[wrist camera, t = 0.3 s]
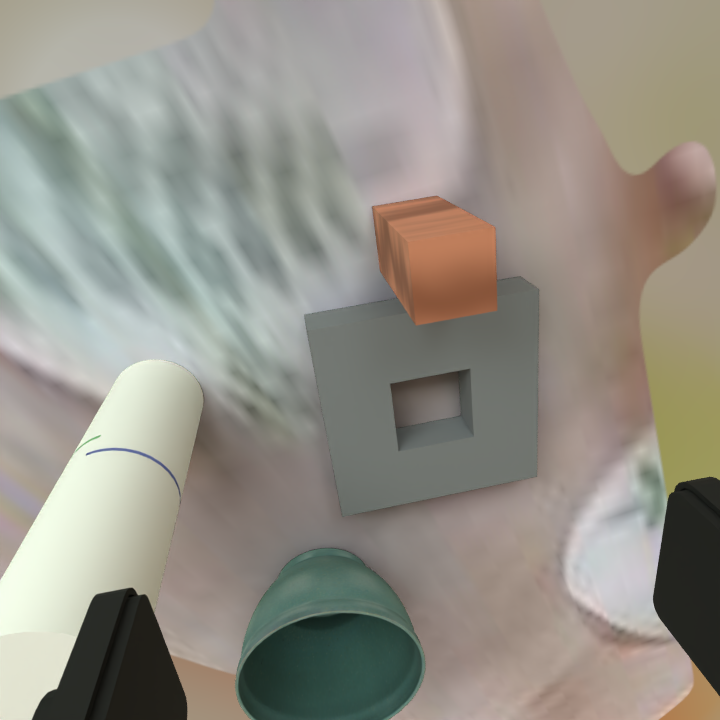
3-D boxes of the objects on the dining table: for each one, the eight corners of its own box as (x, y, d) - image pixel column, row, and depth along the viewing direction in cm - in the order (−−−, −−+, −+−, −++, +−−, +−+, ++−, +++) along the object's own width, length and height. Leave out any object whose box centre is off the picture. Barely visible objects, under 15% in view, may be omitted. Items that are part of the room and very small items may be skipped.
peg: (372, 206, 41) (407, 242, 30) (436, 195, 41) (495, 227, 30) (380, 270, 43) (415, 325, 32) (441, 259, 43) (497, 310, 32)
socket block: (304, 314, 43) (306, 330, 40) (520, 276, 45) (538, 289, 42) (338, 491, 51) (342, 516, 48) (521, 454, 52) (537, 476, 49)
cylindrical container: (212, 428, 46) (155, 726, 24) (127, 442, 46) (-13, 763, 23) (191, 352, 43) (104, 615, 21) (100, 367, 43) (-91, 653, 20)
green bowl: (221, 624, 56) (211, 732, 46) (271, 503, 51) (271, 597, 41) (364, 645, 61) (381, 748, 51) (424, 537, 55) (456, 629, 45)
